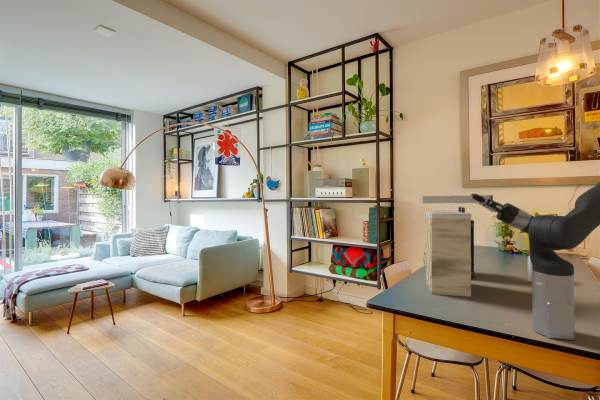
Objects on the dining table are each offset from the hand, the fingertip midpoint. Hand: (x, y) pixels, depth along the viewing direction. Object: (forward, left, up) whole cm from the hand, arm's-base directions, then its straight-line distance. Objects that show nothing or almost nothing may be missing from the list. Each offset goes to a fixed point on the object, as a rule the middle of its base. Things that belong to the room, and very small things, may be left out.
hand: (472, 195), depth 129 cm
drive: (0, +6, -3) cm, 7 cm away
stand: (0, +10, -39) cm, 40 cm away
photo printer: (+21, -31, -39) cm, 54 cm away
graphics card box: (+25, +1, -39) cm, 46 cm away
